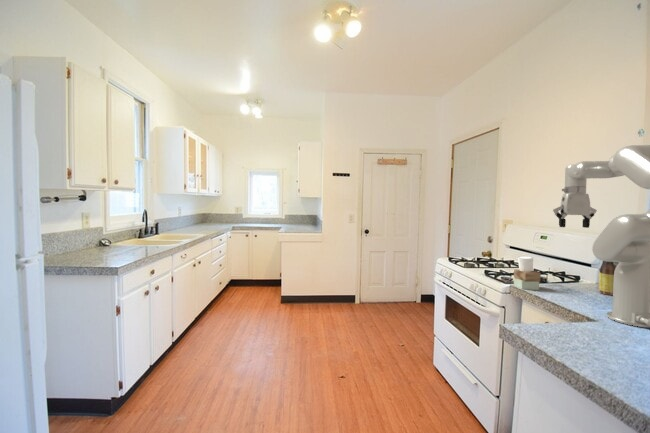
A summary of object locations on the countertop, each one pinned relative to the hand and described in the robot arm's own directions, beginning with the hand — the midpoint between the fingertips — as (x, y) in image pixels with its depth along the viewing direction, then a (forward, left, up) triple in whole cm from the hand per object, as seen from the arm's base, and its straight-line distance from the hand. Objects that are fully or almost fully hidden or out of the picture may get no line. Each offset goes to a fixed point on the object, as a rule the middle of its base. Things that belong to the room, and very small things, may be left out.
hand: (573, 227), depth 130 cm
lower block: (+13, +13, -33) cm, 38 cm away
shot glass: (+14, +13, -24) cm, 31 cm away
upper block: (+13, +13, -29) cm, 34 cm away
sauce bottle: (+9, -21, -33) cm, 41 cm away
